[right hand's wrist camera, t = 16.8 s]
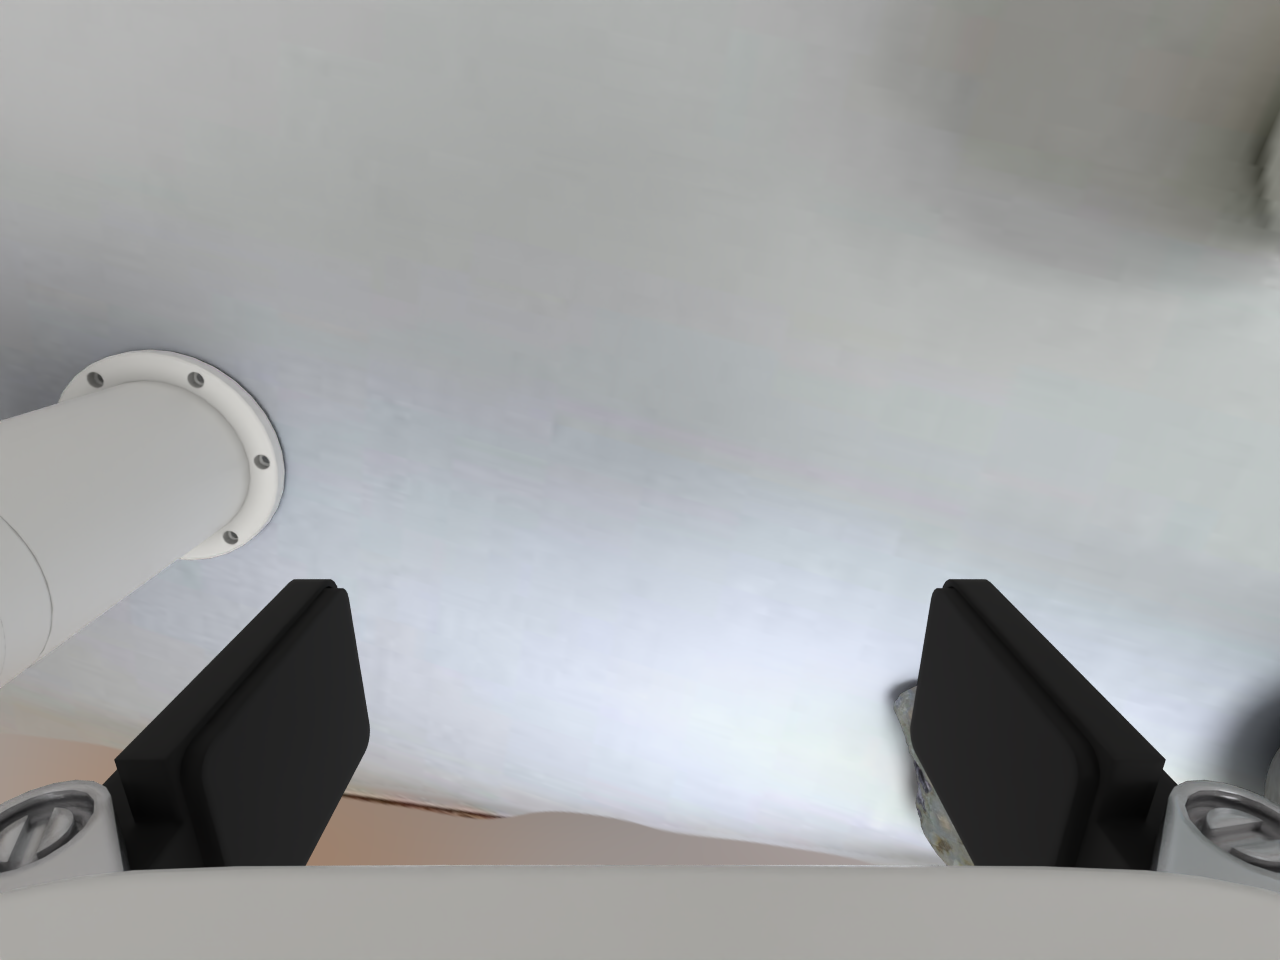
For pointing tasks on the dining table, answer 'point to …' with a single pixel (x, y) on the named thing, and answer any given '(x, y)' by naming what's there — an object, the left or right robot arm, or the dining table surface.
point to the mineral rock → (931, 798)
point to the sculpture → (1273, 779)
